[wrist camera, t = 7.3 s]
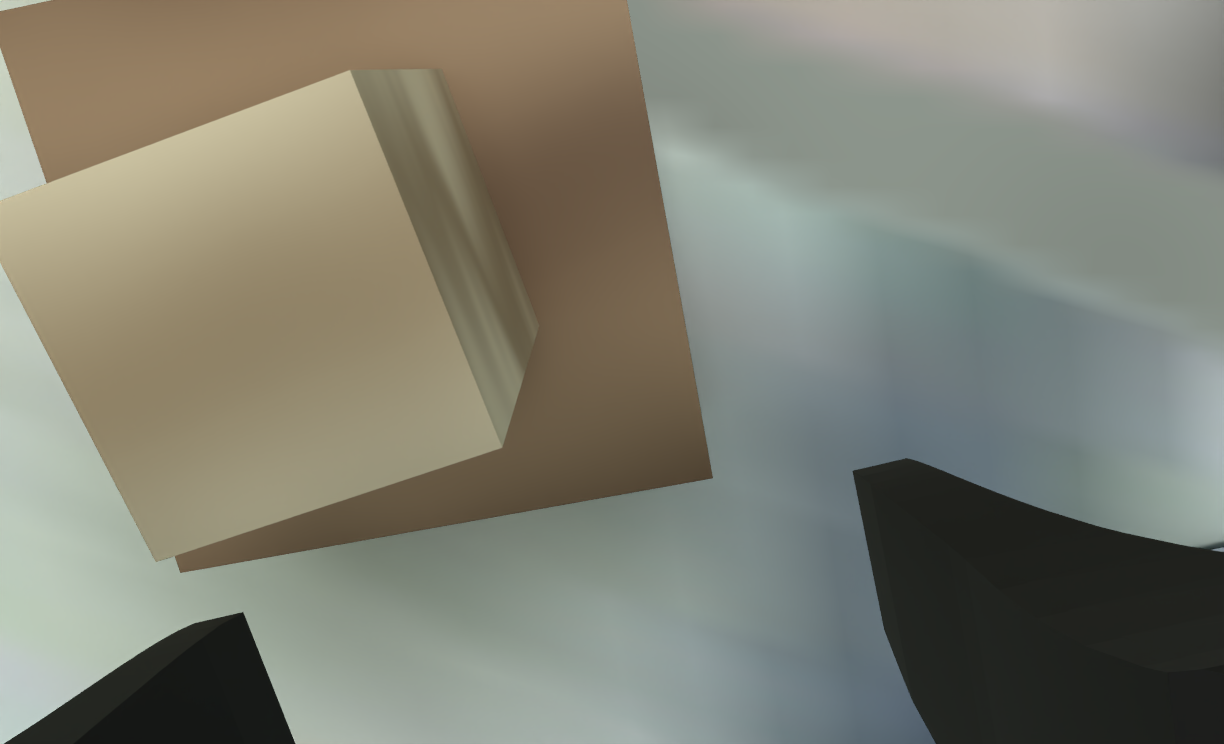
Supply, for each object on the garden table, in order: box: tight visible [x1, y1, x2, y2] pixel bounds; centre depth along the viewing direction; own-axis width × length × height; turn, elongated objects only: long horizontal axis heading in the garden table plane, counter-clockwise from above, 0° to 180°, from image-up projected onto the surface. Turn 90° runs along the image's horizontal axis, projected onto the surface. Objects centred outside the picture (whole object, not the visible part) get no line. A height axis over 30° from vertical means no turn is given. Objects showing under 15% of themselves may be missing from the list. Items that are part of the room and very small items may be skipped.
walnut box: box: [0, 0, 713, 573], centre depth 20 cm, size 10×10×4 cm
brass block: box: [0, 69, 539, 562], centre depth 15 cm, size 4×4×6 cm
